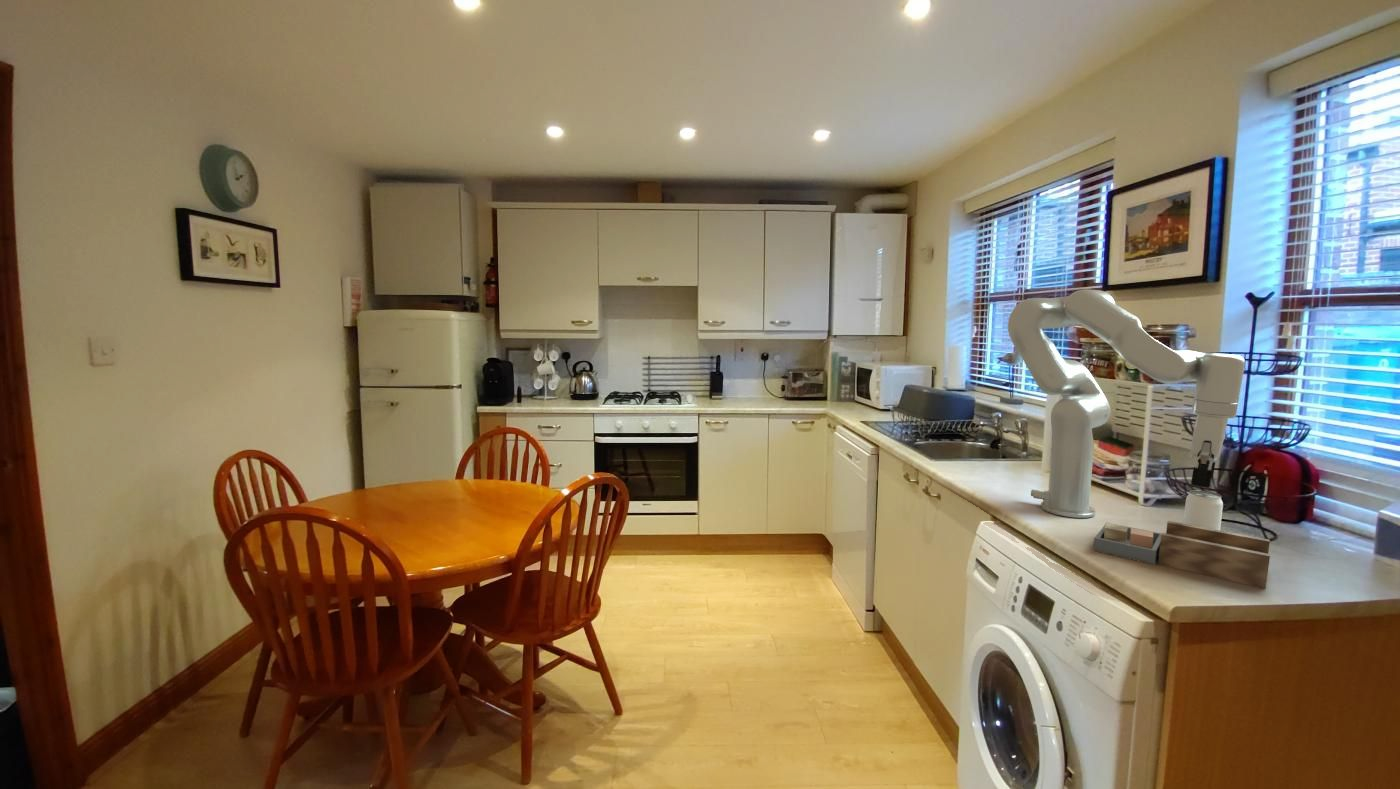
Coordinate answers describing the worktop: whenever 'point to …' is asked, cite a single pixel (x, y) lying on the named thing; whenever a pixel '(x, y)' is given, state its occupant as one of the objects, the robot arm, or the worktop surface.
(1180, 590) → the worktop surface
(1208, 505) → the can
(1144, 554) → the tray
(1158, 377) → the robot arm
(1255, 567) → the slot block
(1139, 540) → the terracotta block
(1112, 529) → the maple block
